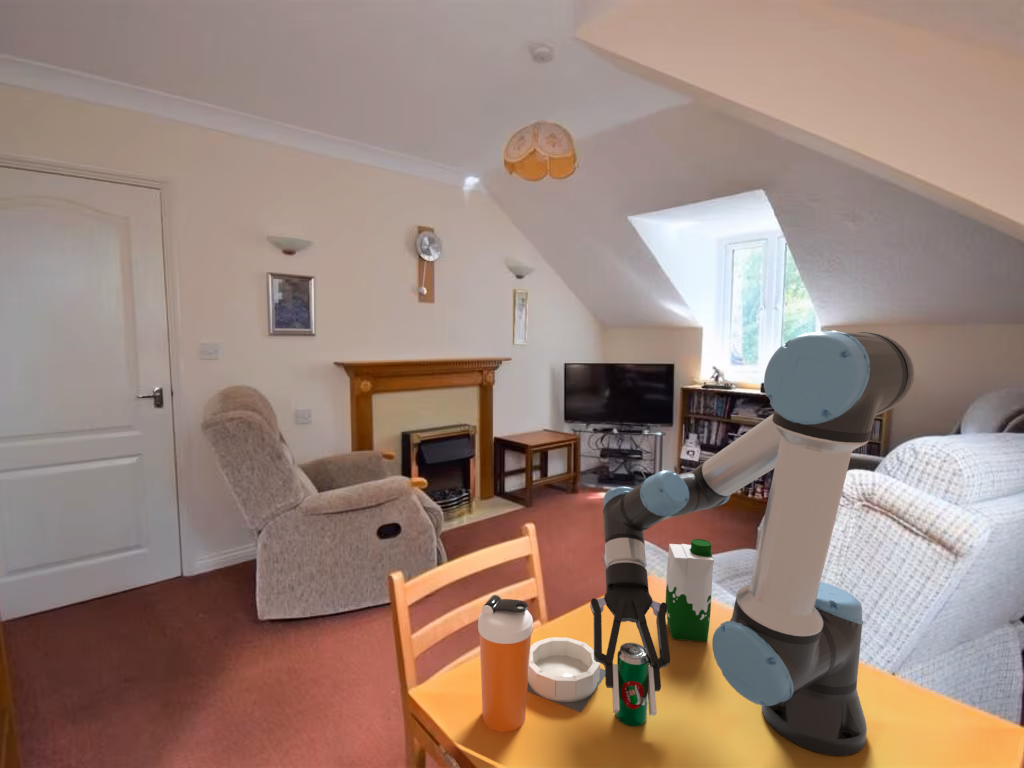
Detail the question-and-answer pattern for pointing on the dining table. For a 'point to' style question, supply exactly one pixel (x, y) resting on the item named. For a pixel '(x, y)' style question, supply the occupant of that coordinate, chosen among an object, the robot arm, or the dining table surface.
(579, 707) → the mat
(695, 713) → the dining table surface
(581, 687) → the bowl
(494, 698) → the shaker bottle
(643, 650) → the soda can
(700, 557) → the milk carton
